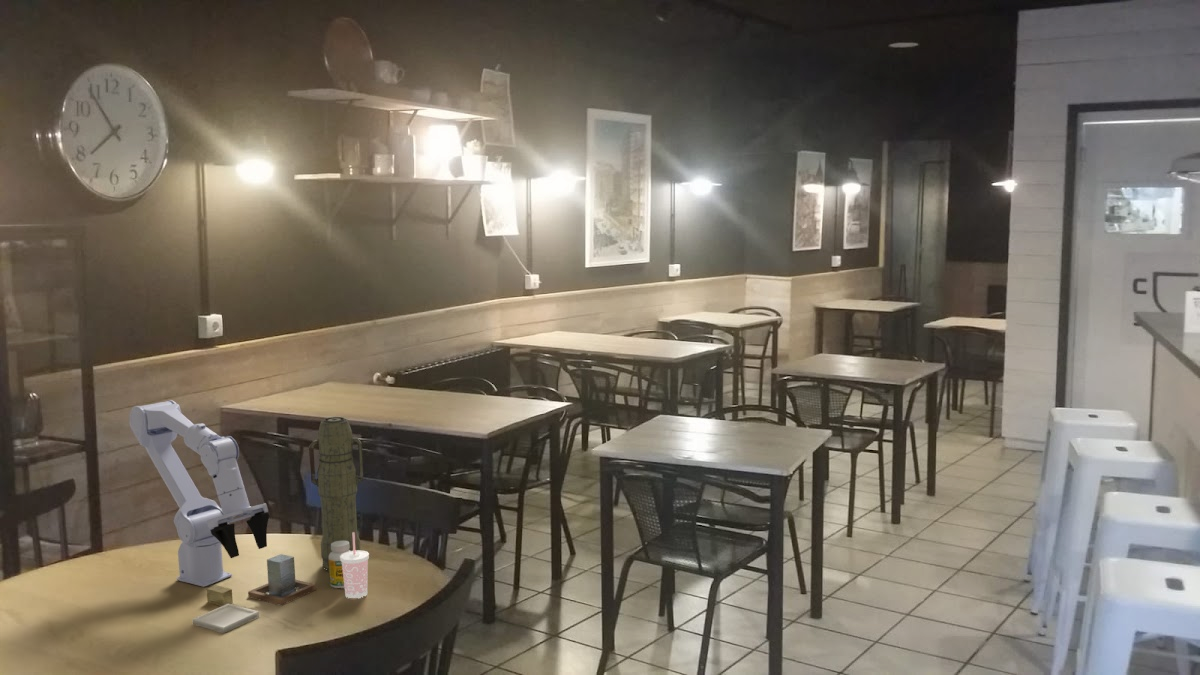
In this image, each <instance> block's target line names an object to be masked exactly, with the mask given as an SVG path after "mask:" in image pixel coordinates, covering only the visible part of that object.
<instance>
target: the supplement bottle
mask: <svg viewBox="0 0 1200 675" xmlns="http://www.w3.org/2000/svg"><path fill="white" fill-rule="evenodd" d="M349 548H350V545H349V542H348V541H336V542H333V543H331V550H332V552H331V553H330V554H329V571H328V572H329V583H330V584H329V585H330V587H332V588H333V587H334V589H337V588H341V589H345V587H344V578H343V569H342V562H341V561H340V556H341V554H343V553H345V552H348V551H350V550H349Z"/></svg>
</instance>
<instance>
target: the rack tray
mask: <svg viewBox="0 0 1200 675" xmlns="http://www.w3.org/2000/svg"><path fill="white" fill-rule="evenodd" d="M259 617H260V612H259V610H254V609H251V608H247V607H243V606H240V605H236V604H233V603H231V604H229V603H228V604H226V605H224V606H220V607H217V608H215V609H213V610H212V609H211V610H210V611H208V612H206V613H203V614H201V615H198V616H196V617H194V618H192V625H193V626H196V627H197V626H198V627H200V628H204V629H208V630H211V631H214V632H218V633H220V634H225V633H227V632H230V631H231V630H234V629H236V628H238V627H240V626H242V625H245V624H247V623H249V622H252V621H253V620H256V619H258V618H259Z"/></svg>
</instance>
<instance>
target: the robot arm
mask: <svg viewBox="0 0 1200 675" xmlns="http://www.w3.org/2000/svg"><path fill="white" fill-rule="evenodd" d="M181 409H182V408H181V406H180V404H178V403H177V402H175V401H174V400H172V399H168V400H166V401H161V402H156V403H151V404H144V405H134V406H133V407H132V408H131V410H130V412H129V415H128V416H129V428H130V430H131V431H132V433H133V435H134V436H135V438H136V440H137V442H138V444H139V445H140V446H142V447H144V448H145V451H146V453H147V454H148V456H149V458H150V459H151V461H152V463H153V465H154V467H155V468H156V470H157V472H158V474H159V475H160V478H161V479H162V480H163V482H164V483H165V485H166V487H167V489H168V491H169V493H170V494H171V496H172V498H173V500H174V501H175V502H176V505H177V506H178V508H179V509H178V510H177V512H176V514H175V515H174V518H173V523H174V526H175V528H176V531H177V535H178V536H177V537H178V538H179V540H180V541H181V543H180V544H179V546H178V547H179V548H178V550H177V551H178V552H177V556H178V559H177V560H178V571H179V576H178V577H176V580H177V581H180V582H183V583H187V584H191V585H196V586H197V587H198V586H199V587H208V586H210V585H213V584H214V583H217V582H220V581H222V580H224V579H227V578H229V577H232V576H233V574H232V573H231V572H226V571H224V563H223V550H222V548H224V550H225V551H226V553H227V554H228V556H229V558H230V559H233V558H236V557H239V556H240V551H239V547H238V544H237V543H238V542H237V540H236V533H235V532H236V531H235V529H236V528H235V523H234V522H238V521H241V520H244V519H248V518H250V519H248V520H245V521H246V525H247V526H248V527H249V529H250V531H251V533H252V535H253V538H254V540H255V541H254V542H255V543H256V546H257V549H259V550H261V549H264V548H266V547H268V542H267V541H268V539H267V528H268V523H269V519H270V514H269V509H268V505H267V503H263V504H262V503H261V504H257V505H253V506H250V505H251V504H250V502H249V499H248V494H247V492H246V488H245V485H244V481H243V478H242V475H241V471H240V467H239V464H238V459H239V457H240V448H239V445H238V443H237V440H236V439H235V438H233V436H231V435H227V436H220V435H219V434H217V433H216V432H214V431H213V430H212V429H210V428H209V427H207V425H206V424H205V423H203V422H202V423H193V422H192V421H191V420H189V418H187V417H186V416H185V415H184V414H183V413H182V410H181ZM178 435H179V436H180V437H181V438H182V437H183V442H184V445H185V446H186V447H188V448H189V449H190V450H192V451H193V452H195V453H196V454H198V456H200V461H201V463H202V465H203V466H204V467H205V469H206V470H207V475H209V476H210V477H211V478H212V482H213V485H214V487H215V492H216V495H217V498H218V503H219V505H220V506H219V505H218V503H217V502H216V500H214V499H213V500H212V499H210V498H207V497H204V496H202V495H201V493H200V491H199V489H198V487H196V485H195V483H194V481H193V480H192V477H191V476H190V474H189V472H188V470H187V469H186V467H185V466H184V465H183V463H182V461H181V459H180V457H179V455H178V454H177V452H176V450H175V449H174V447H173V446H172V442H173V441H175V439H177V437H178ZM241 515H242V516H241ZM238 516H239V517H238ZM235 517H236V518H235ZM230 523H231V524H230Z"/></svg>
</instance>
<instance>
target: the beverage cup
mask: <svg viewBox="0 0 1200 675" xmlns="http://www.w3.org/2000/svg"><path fill="white" fill-rule="evenodd" d="M352 536H353V551H348V552H345V553H343V554H341V556H340V561H341V562H342V569H343V578H344V587H345V588H344V594H345V597H346V598H347V597H348V598H347V599H349V598H358V599H362V598H364V597H363V596H365V597H366V596H367V595H368V582H369V580H368V579H369V578H368V576H369V574H368V573H369V572H368V571H369V570H368V569H369V558H370V556H369V555H370V553H369V552H368V551H367V550H361V549H360V550H355V532H353V533H352ZM361 597H362V598H361Z"/></svg>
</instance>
